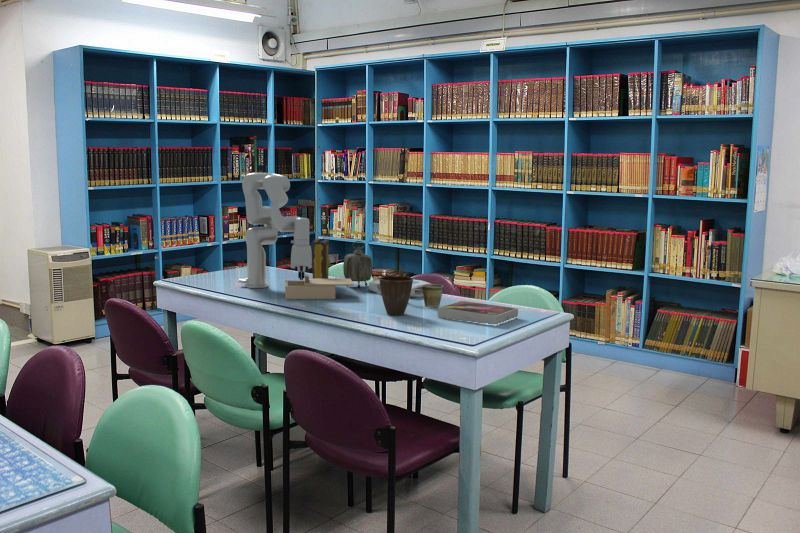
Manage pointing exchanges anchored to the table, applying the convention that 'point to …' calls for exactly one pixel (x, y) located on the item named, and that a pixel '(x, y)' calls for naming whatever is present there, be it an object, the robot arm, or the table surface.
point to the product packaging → (477, 312)
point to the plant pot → (395, 293)
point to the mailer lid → (326, 282)
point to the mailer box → (307, 291)
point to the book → (321, 258)
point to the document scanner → (416, 284)
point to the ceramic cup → (432, 295)
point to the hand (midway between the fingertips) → (301, 279)
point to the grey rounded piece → (358, 266)
